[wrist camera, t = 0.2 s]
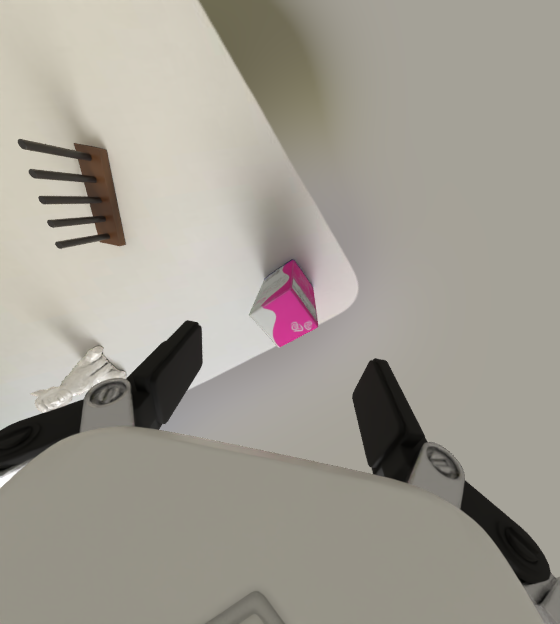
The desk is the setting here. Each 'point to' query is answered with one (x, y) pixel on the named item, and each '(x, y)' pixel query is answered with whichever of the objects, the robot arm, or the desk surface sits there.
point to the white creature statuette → (78, 381)
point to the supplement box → (285, 305)
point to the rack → (97, 189)
